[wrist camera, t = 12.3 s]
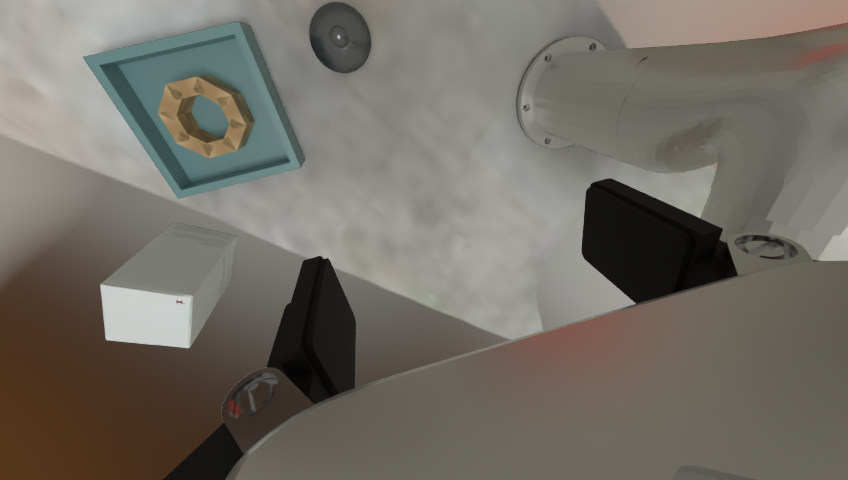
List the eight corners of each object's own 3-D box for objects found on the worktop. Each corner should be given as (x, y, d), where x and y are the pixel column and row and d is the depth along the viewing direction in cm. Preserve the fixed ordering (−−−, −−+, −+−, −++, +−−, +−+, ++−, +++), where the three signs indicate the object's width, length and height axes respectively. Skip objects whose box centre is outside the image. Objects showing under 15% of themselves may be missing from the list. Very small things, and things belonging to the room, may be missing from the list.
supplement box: (172, 220, 38) (97, 281, 27) (239, 234, 40) (194, 296, 29) (170, 268, 41) (102, 341, 30) (232, 279, 43) (190, 350, 32)
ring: (231, 70, 31) (219, 71, 28) (263, 140, 35) (256, 145, 32) (161, 87, 31) (143, 89, 28) (201, 155, 34) (189, 163, 32)
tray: (250, 25, 30) (238, 21, 27) (305, 159, 37) (300, 167, 34) (109, 57, 30) (82, 56, 27) (192, 188, 37) (178, 198, 34)
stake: (360, -2, 31) (360, -14, 26) (377, 65, 34) (379, 65, 30) (301, 11, 30) (291, 2, 26) (323, 78, 34) (318, 80, 29)
